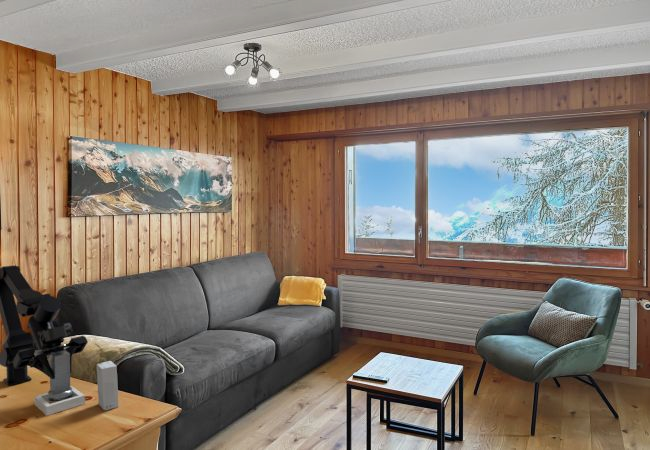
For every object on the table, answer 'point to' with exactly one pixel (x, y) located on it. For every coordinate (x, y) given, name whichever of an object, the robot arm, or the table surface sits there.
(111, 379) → the skincare box
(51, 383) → the end cover
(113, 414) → the table surface
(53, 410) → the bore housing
